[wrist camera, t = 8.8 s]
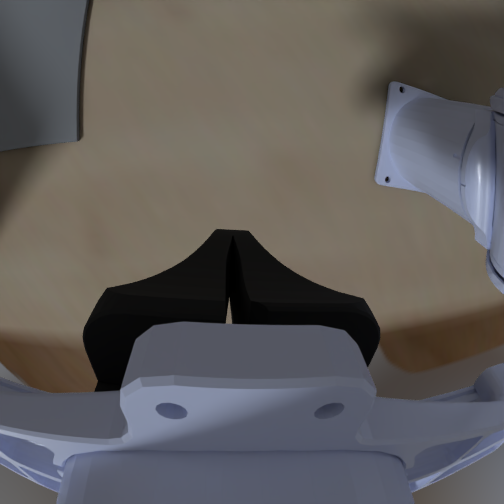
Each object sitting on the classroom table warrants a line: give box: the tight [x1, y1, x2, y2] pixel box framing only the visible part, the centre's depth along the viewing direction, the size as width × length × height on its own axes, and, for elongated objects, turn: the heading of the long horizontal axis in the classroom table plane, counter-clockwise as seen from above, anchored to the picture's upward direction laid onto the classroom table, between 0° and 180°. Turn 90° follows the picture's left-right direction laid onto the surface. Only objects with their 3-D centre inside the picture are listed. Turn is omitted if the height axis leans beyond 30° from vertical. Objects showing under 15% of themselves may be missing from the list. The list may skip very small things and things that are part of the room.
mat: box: [0, 0, 89, 151], centre depth 13 cm, size 18×20×1 cm
